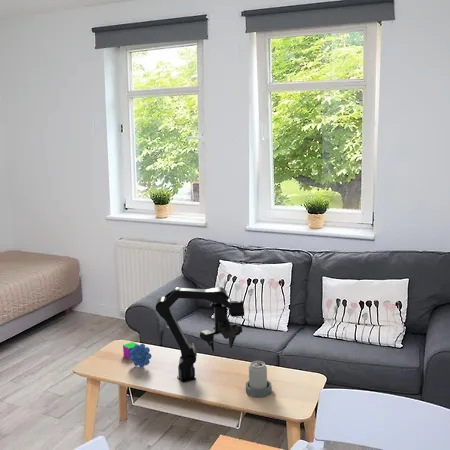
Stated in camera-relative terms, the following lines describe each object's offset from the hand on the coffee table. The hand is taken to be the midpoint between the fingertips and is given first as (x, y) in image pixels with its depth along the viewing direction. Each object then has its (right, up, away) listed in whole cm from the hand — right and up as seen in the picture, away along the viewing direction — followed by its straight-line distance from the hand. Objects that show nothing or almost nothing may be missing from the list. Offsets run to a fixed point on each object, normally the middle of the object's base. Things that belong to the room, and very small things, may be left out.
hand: (221, 350), depth 249 cm
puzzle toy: (-44, -9, +27) cm, 53 cm away
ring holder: (+16, -15, -10) cm, 24 cm away
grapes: (-37, -11, +15) cm, 42 cm away
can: (+15, -15, -10) cm, 24 cm away
